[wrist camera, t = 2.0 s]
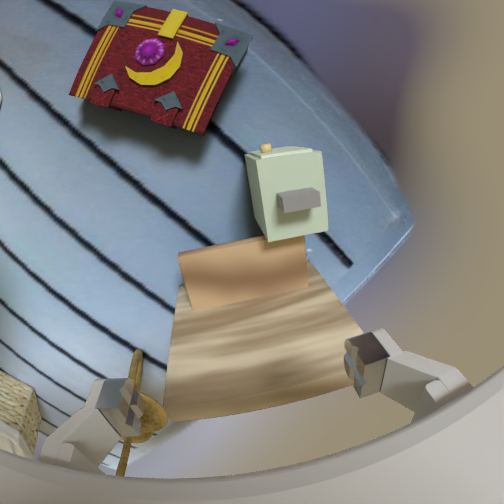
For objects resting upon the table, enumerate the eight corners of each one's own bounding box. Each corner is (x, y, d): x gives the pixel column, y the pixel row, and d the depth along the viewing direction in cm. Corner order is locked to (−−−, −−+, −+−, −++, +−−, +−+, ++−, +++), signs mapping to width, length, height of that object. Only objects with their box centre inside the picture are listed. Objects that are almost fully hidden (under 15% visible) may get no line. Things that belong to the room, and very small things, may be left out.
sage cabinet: (242, 145, 29) (258, 148, 19) (293, 138, 29) (329, 140, 20) (254, 216, 32) (273, 251, 23) (301, 208, 32) (337, 238, 23)
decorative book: (204, 138, 28) (202, 138, 23) (75, 99, 24) (54, 94, 19) (247, 48, 25) (254, 33, 20) (117, 13, 20) (104, -4, 16)
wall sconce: (165, 398, 41) (160, 537, 18) (111, 385, 39) (84, 520, 16) (177, 338, 37) (168, 520, 14) (110, 322, 34) (55, 491, 11)
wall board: (165, 239, 31) (127, 346, 15) (304, 212, 32) (391, 290, 16) (188, 312, 35) (181, 434, 19) (310, 287, 36) (374, 390, 20)
